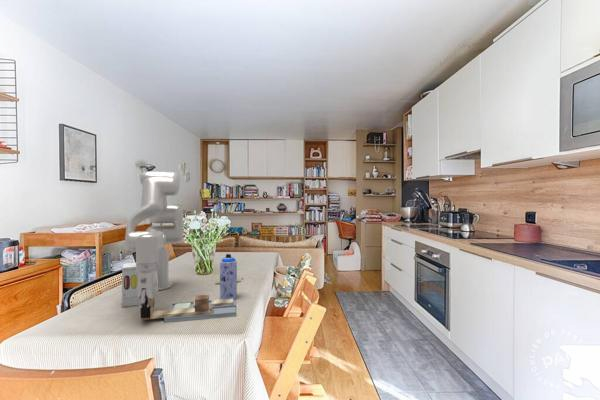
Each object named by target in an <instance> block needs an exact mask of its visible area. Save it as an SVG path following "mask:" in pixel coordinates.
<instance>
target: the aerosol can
mask: <svg viewBox="0 0 600 400" xmlns="http://www.w3.org/2000/svg"><path fill="white" fill-rule="evenodd" d="M237 268H238V261H237V259H236V258H235V257H233V256H232V254H231V253H226V254H225V257H224V258H222V259H221V260H219V283H220V284H219V300H220V299H233V298H235V300H236V299H237V298H238V290H237V289H238V287H237V286H238V283H237V281H238V269H237Z"/></svg>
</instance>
